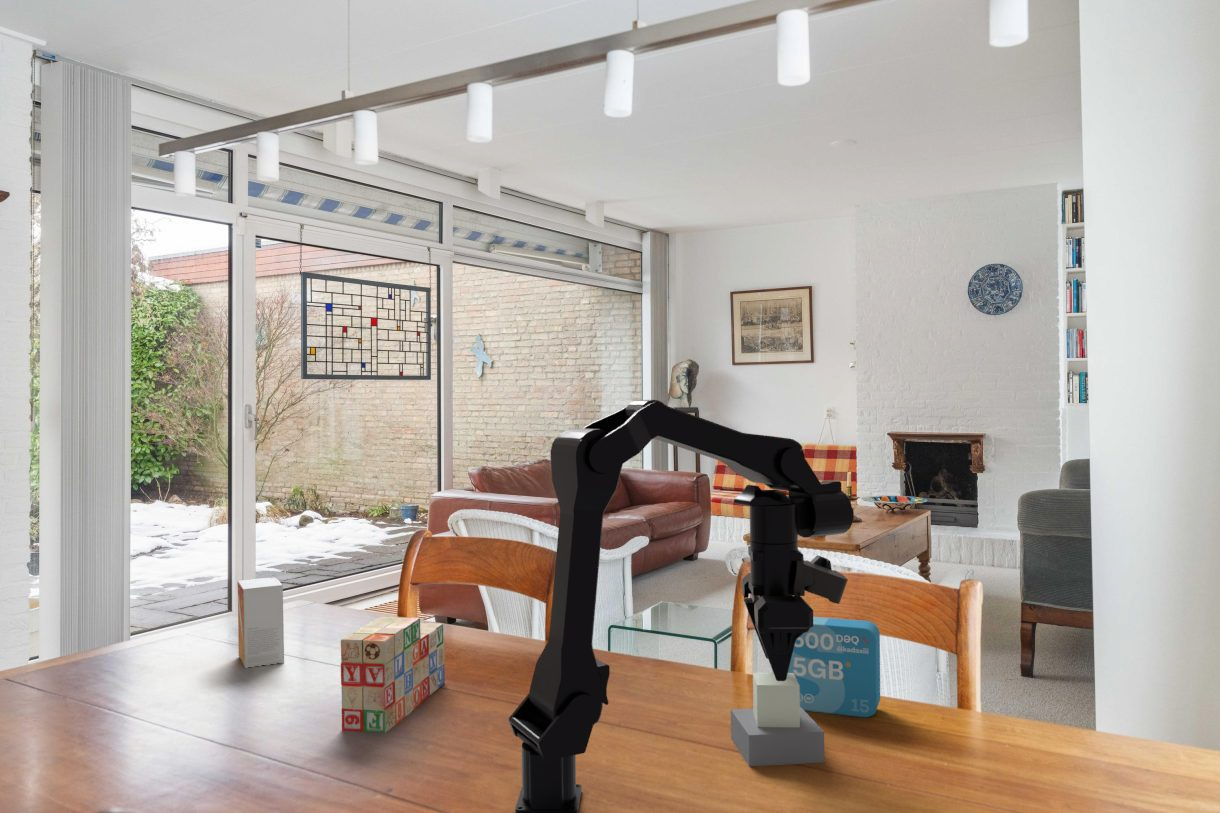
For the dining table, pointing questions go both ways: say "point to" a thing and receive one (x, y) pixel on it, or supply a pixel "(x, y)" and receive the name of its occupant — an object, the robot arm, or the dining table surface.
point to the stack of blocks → (389, 671)
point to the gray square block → (776, 740)
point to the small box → (260, 622)
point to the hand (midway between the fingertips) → (775, 669)
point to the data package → (838, 667)
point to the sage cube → (776, 700)
